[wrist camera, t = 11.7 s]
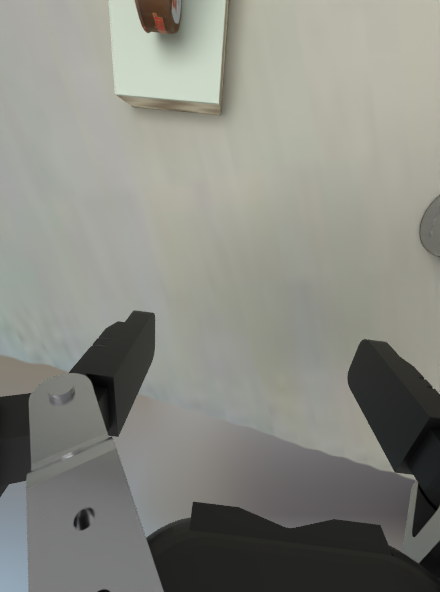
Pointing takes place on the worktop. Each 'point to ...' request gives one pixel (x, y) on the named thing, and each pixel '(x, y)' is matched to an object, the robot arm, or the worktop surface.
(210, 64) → the plinth
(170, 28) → the tin
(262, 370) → the worktop surface
